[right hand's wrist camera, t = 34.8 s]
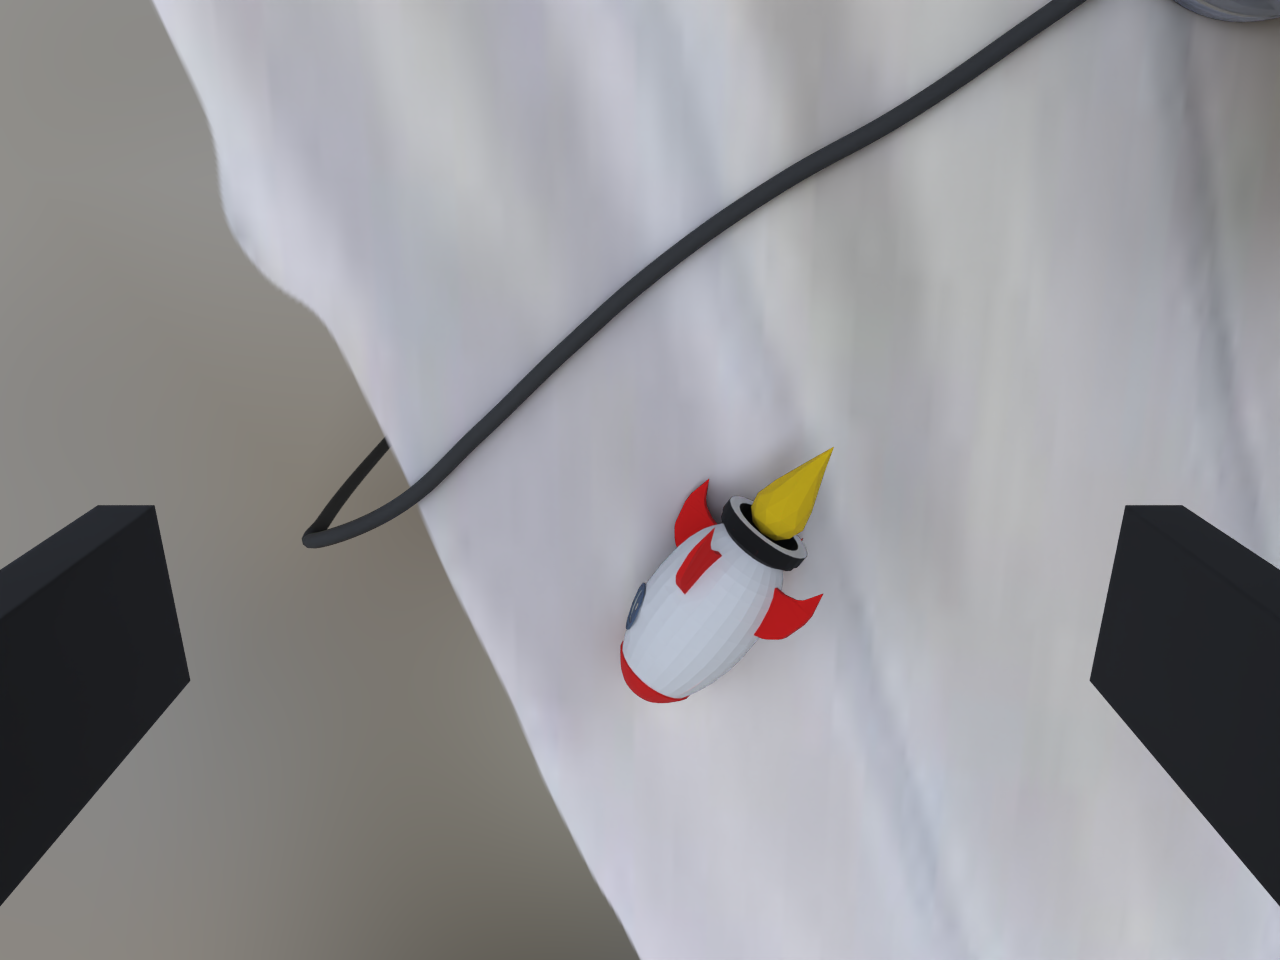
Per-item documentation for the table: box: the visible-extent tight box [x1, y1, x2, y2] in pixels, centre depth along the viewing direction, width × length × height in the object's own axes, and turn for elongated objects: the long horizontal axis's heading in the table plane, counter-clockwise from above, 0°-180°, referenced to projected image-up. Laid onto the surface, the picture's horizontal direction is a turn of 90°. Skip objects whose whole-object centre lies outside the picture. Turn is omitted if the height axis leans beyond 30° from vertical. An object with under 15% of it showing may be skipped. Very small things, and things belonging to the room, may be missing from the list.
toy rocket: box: [620, 447, 834, 703], centre depth 53 cm, size 9×10×20 cm
